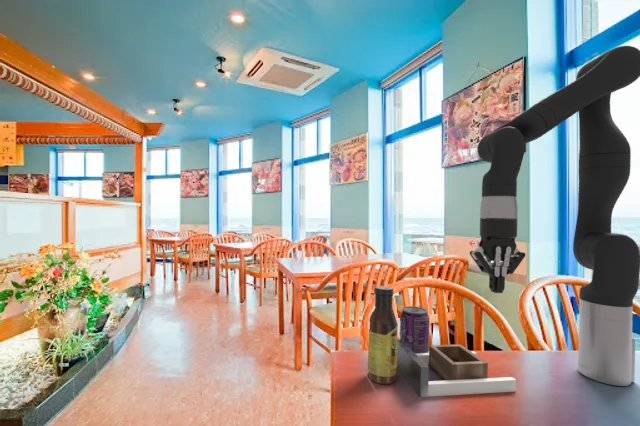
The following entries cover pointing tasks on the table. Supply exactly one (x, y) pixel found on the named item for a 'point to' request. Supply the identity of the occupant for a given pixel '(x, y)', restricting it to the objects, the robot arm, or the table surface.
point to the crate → (456, 363)
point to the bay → (418, 372)
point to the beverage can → (415, 329)
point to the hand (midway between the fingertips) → (496, 292)
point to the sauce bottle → (383, 338)
